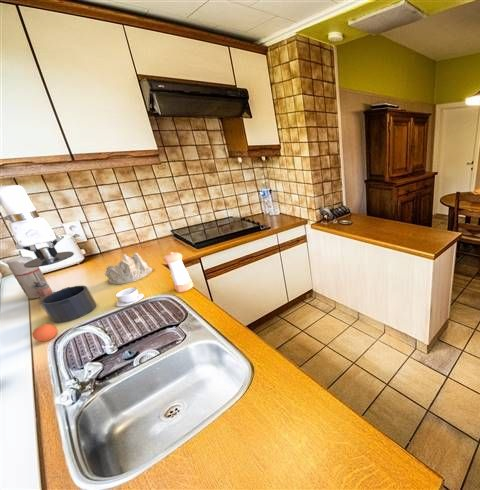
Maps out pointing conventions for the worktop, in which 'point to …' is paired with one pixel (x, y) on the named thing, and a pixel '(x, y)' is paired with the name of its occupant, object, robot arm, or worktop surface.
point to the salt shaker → (178, 272)
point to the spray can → (26, 275)
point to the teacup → (128, 297)
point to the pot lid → (47, 258)
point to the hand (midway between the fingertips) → (48, 257)
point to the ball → (45, 332)
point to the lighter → (41, 289)
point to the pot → (68, 304)
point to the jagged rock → (128, 270)
